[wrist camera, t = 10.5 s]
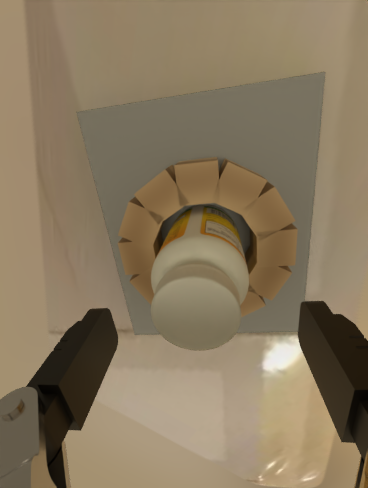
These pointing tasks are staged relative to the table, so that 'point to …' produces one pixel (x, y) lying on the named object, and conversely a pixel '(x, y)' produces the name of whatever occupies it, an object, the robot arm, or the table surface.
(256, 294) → the segmented wooden ring
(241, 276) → the supplement bottle
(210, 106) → the gray rectangular board
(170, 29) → the table surface
